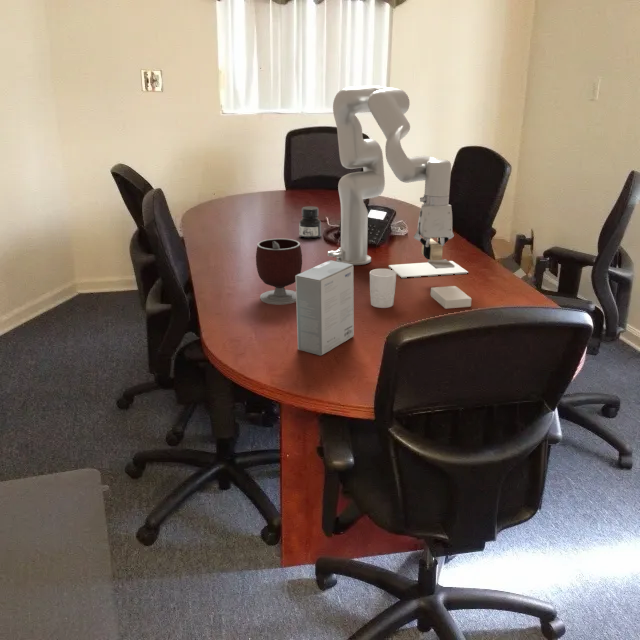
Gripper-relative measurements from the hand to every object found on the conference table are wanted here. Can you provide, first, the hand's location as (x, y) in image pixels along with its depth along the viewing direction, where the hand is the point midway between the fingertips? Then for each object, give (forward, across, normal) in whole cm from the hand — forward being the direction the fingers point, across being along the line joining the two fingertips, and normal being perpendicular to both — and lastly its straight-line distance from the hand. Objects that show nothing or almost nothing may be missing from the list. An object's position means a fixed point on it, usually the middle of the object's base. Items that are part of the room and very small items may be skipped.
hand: (432, 257), depth 214 cm
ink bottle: (+10, -25, +72) cm, 77 cm away
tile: (+8, 0, -10) cm, 13 cm away
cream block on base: (0, 0, -2) cm, 2 cm away
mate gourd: (+10, -50, -2) cm, 51 cm away
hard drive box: (+10, -44, -39) cm, 59 cm away
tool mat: (+10, +5, +16) cm, 19 cm away
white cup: (+10, -21, -14) cm, 27 cm away
